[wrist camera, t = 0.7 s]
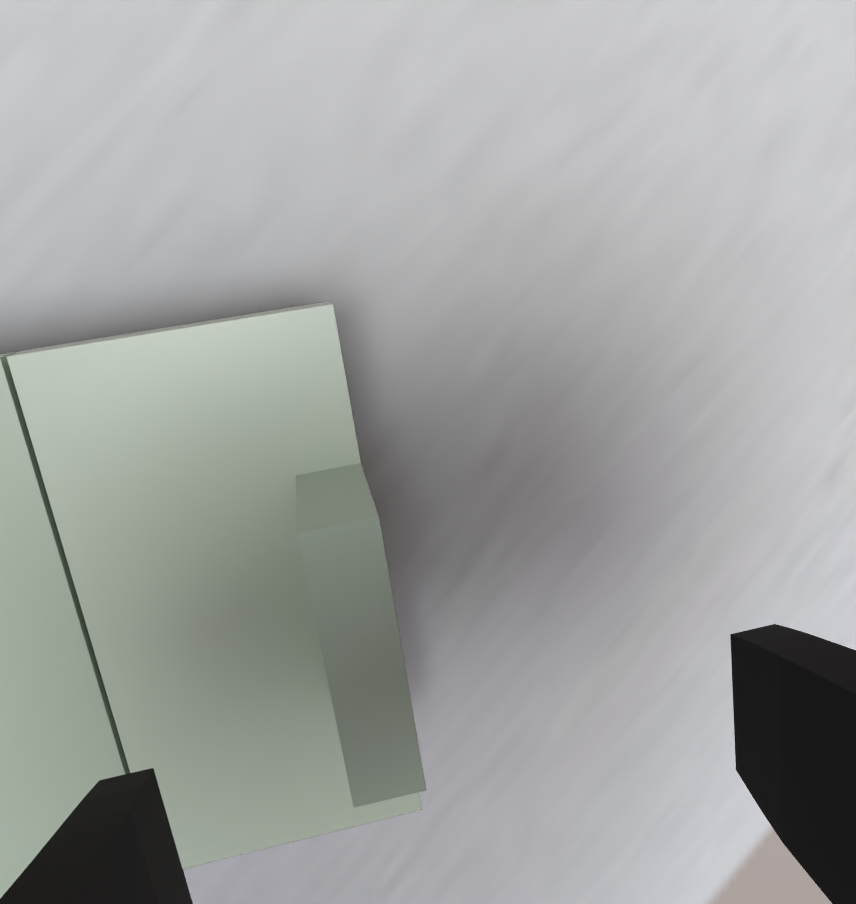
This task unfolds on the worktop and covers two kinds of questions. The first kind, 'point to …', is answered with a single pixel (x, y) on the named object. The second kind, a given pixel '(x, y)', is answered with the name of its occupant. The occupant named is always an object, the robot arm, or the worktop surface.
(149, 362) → the lid
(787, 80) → the worktop surface
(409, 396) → the worktop surface
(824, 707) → the robot arm
